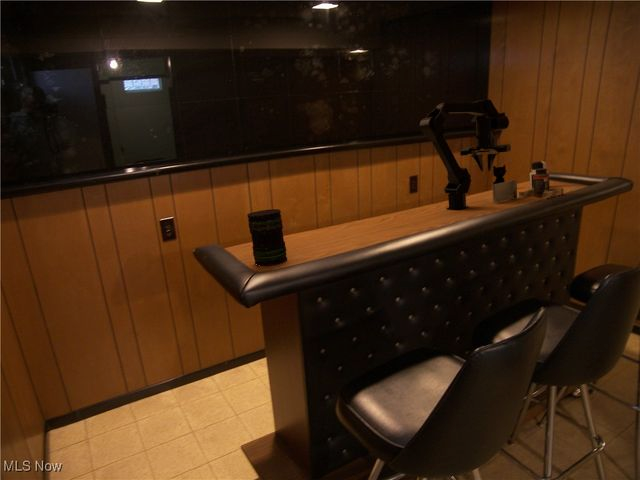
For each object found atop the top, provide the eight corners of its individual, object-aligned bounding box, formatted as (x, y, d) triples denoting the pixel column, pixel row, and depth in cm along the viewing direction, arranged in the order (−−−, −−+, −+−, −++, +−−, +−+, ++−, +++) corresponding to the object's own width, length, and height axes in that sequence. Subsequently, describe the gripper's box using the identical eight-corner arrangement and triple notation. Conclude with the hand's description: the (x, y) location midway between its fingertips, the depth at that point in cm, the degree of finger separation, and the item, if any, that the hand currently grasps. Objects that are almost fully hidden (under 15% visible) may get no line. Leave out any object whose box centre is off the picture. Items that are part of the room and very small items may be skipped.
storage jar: (278, 266, 129) (270, 214, 125) (248, 266, 132) (240, 216, 129) (293, 257, 137) (286, 208, 134) (264, 257, 141) (257, 210, 138)
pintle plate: (515, 200, 186) (515, 199, 186) (506, 199, 190) (506, 199, 190) (521, 198, 188) (521, 198, 188) (513, 198, 192) (513, 197, 192)
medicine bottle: (531, 189, 208) (531, 163, 205) (529, 187, 214) (529, 162, 212) (549, 188, 206) (548, 161, 203) (546, 186, 212) (546, 160, 210)
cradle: (545, 199, 180) (545, 193, 179) (519, 198, 190) (518, 192, 189) (563, 194, 185) (563, 188, 185) (536, 193, 195) (536, 187, 195)
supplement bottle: (550, 196, 184) (550, 168, 182) (534, 197, 186) (534, 170, 183) (548, 194, 190) (547, 167, 187) (532, 195, 191) (531, 168, 189)
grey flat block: (513, 197, 191) (512, 179, 189) (518, 197, 188) (517, 179, 187) (492, 202, 184) (491, 184, 183) (497, 202, 182) (496, 184, 181)
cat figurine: (489, 190, 220) (488, 166, 217) (497, 188, 224) (496, 164, 221) (503, 190, 214) (502, 165, 212) (510, 188, 219) (510, 163, 216)
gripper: (514, 128, 182) (515, 167, 186) (469, 133, 194) (471, 170, 198) (505, 130, 174) (506, 170, 178) (458, 135, 186) (460, 173, 190)
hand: (485, 171), depth 186 cm, fingers open, 3 cm apart
